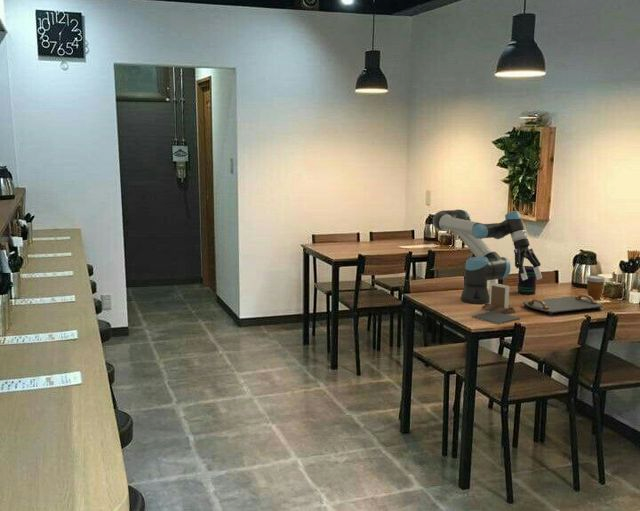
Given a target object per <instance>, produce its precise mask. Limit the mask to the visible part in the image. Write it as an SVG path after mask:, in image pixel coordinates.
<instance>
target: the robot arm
mask: <svg viewBox="0 0 640 511" xmlns="http://www.w3.org/2000/svg"><path fill="white" fill-rule="evenodd" d="M504 217H505V219H504V220H503V221H501V222H496V223H495V222H494V223H481V222H479V221H478V222H477V221H472V219H471V215H470V214H469V212H468V211H467V210H464V209H449V210H447V209H446V210H440V211H438V212H436V213H435V214H434V216H433V217H432V224H433V226H434V228H435V229H436V230H438V231H442V232H448V231H451V232H452V234H453V235H454V236H458V237H459V238H460V239H461V240H462V241H463V243H464V244H465V245H466V246H467V247H468V249H469V250H470V252H472V254H473V255H474V256H472V257H469V258H467V260H466V261H465V266H464V270H465V271H464V272H465V274H464V275H465V276H464V288H463V289H462V293H461V296H460V301H461V302H464V303H468V304H475V305H476V304H478V305H479V304H480V305H482V304H485V303H487V304H489V301H490V292H489V290H488V281H493V280H494V281H495V280H503V279H506V278H508V276H509V275H510V274H511V269H512V268H511V266H512V265H511V263H510V260H509V259H508V257H504V256H501V255H499V254H498V253H497V252H496V251H492V250H491V248H490V247H489V246H488V245H487V244H486V242H485V241H483V239H492V238H493V239H494V240H501V239H504V238H505V237H507V236H509V235H510V237H511V240H512V242H513V243H512V244H513V246H514V247H513V248H514V250H513V252H514V267H515V268H516V269H518V272H519V271H520V274H521V277H522V280H526V279H528V277H527V274H526V271H525V268H524V266H525V265H524V261H525V259H527V261H528V262H529V263H530V264H531V265H532V266H533V267H534V272H535V275H536V280H537V281H539V280H542V279H543V277H542V272H541V270H540V266H541V262H540V261H539V258H538V257H537V255H536V254H535V251H534V250H533V248H529V246H530V245H531V244H530V241H529V238H528V235H527V231H526V230H525V225H524V222H523V219H522V216H521V213H520V212H519V211H517V210H513V211H510V212H507V213H506V214H505V215H504ZM522 266H523V267H522Z"/></svg>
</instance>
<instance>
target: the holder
mask: <svg viewBox="0 0 640 511" xmlns="http://www.w3.org/2000/svg"><path fill="white" fill-rule="evenodd" d="M483 304H484V305H483V306H482V307H481V309H482V310H484V309H486V310H485V311H488V310H489V311H488V312H491V311H494V312H498V313H502V314H507V315H510V314H513V313H516V309H515V308H514V307H513V306H509V305H508V308H504V307H499V306H495V305H491V304H489V303H483Z"/></svg>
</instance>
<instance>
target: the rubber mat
mask: <svg viewBox="0 0 640 511" xmlns="http://www.w3.org/2000/svg"><path fill="white" fill-rule="evenodd" d="M473 317H475V318H474V319H477V318H479V319H478V320H480V319H483V320H482V321H484V320H487V321H486V322H488V321H491V322H490V323H492V322H495V323H494V324H496V323H498V324H497V325H501V324H500V323H503V324H505V323H504V322H506V323H510V322H513V320H514V321H518V320H520V319H521V318H520V316H519V317H518V316H514V315H510V314H502V313H498V312H494V311H487V312H483V313H479V314H475V315H471V318H473ZM509 321H510V322H509Z"/></svg>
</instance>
